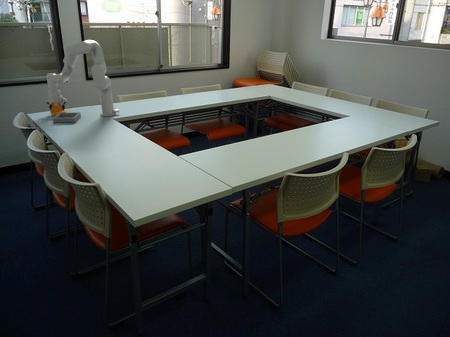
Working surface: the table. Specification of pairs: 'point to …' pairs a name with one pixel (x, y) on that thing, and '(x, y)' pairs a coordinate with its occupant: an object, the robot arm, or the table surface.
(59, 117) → the bin
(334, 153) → the table surface
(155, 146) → the table surface
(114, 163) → the table surface
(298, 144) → the table surface
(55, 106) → the bracket
